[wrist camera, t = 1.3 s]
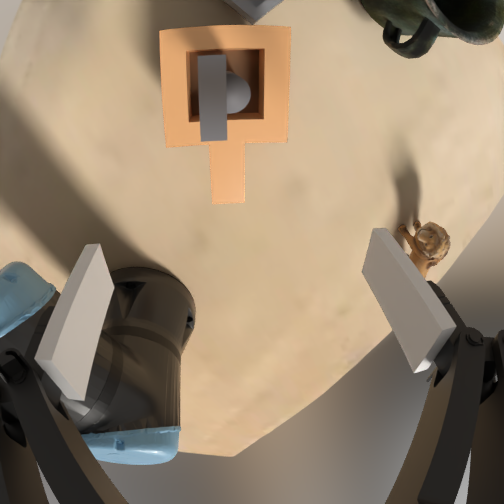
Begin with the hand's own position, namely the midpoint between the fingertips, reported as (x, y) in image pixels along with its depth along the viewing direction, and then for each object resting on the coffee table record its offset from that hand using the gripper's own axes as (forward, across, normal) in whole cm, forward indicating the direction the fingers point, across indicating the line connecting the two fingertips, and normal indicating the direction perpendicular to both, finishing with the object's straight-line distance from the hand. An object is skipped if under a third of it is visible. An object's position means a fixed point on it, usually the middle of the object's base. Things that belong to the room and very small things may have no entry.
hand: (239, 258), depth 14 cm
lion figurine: (+20, -24, +14) cm, 35 cm away
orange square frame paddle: (+14, 0, -4) cm, 14 cm away
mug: (+20, -18, -18) cm, 32 cm away
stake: (+20, 0, -7) cm, 21 cm away
